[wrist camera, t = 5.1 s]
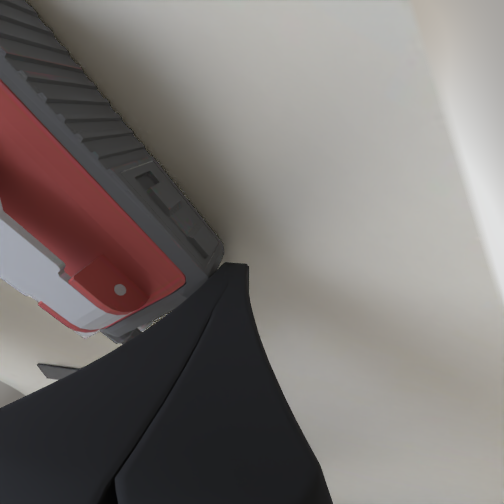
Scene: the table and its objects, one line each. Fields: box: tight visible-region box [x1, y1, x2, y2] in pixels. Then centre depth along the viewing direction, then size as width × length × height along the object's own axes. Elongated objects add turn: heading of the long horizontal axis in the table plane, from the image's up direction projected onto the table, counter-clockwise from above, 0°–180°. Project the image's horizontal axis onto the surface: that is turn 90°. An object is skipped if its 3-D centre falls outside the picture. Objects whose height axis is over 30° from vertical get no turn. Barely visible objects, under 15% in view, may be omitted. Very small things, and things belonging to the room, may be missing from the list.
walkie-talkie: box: [0, 0, 224, 344], centre depth 9 cm, size 9×4×20 cm
